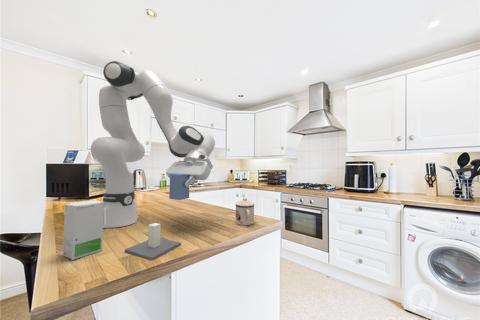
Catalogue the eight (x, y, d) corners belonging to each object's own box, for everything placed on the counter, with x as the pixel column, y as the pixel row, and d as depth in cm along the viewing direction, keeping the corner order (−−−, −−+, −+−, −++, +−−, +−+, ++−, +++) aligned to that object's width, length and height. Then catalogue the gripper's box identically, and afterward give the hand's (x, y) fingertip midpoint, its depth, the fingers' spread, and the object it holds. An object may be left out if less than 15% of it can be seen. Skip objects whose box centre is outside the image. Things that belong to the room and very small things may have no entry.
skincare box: (71, 261, 57) (72, 206, 57) (61, 255, 60) (62, 203, 60) (103, 249, 64) (104, 201, 64) (93, 245, 67) (94, 199, 67)
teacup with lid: (233, 220, 98) (233, 196, 98) (251, 219, 100) (251, 196, 100) (238, 228, 86) (238, 201, 86) (258, 227, 88) (258, 200, 88)
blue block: (169, 198, 79) (169, 174, 79) (178, 196, 84) (179, 173, 84) (179, 200, 77) (180, 174, 77) (189, 197, 82) (189, 173, 82)
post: (124, 252, 62) (125, 227, 63) (155, 238, 73) (156, 217, 73) (152, 260, 57) (152, 233, 57) (181, 245, 68) (181, 222, 68)
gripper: (173, 156, 91) (155, 179, 82) (210, 156, 82) (195, 182, 73) (179, 165, 95) (163, 188, 86) (216, 167, 86) (202, 192, 77)
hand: (178, 185), depth 80 cm, fingers closed on blue block, 5 cm apart
